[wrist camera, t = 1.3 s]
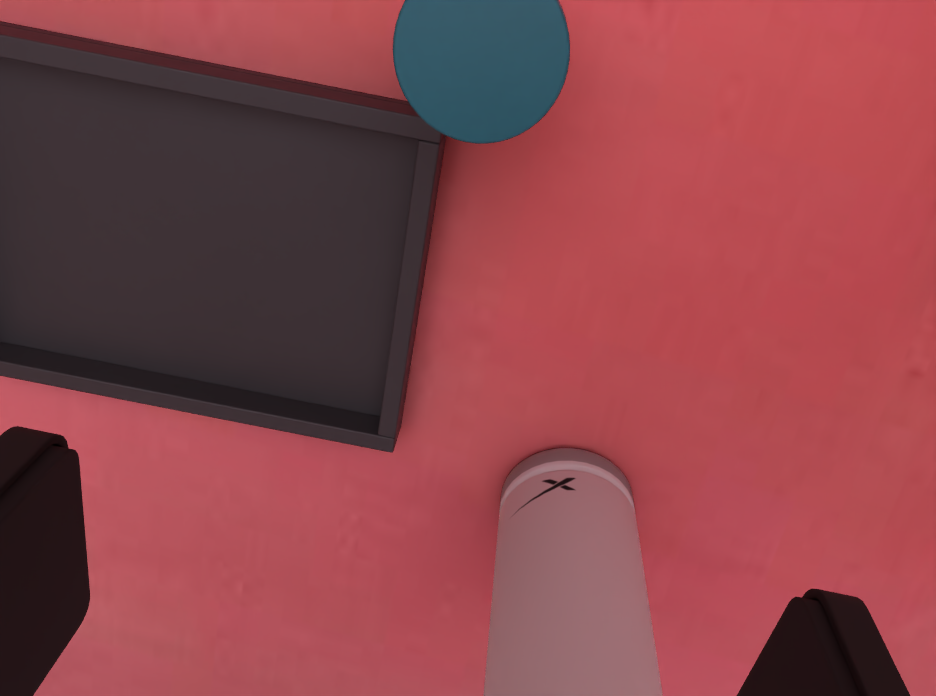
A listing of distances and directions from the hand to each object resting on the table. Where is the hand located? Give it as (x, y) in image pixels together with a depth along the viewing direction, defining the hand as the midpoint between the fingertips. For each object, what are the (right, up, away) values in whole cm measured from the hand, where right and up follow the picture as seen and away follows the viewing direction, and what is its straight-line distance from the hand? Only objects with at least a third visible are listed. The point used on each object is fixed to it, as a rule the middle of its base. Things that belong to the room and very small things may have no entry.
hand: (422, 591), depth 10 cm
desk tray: (-11, +8, +22) cm, 25 cm away
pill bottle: (+2, +15, +17) cm, 22 cm away
